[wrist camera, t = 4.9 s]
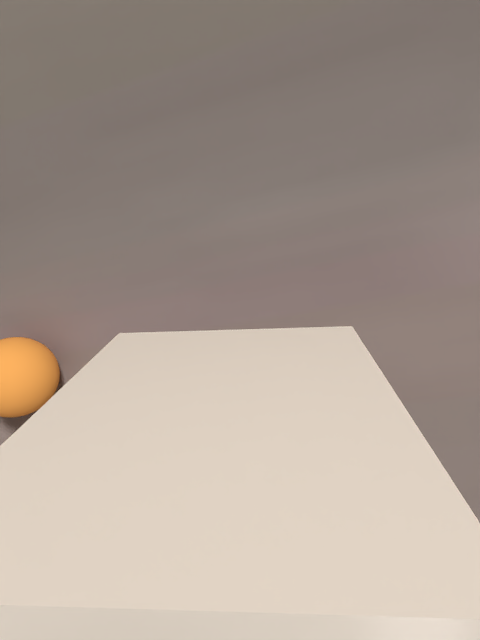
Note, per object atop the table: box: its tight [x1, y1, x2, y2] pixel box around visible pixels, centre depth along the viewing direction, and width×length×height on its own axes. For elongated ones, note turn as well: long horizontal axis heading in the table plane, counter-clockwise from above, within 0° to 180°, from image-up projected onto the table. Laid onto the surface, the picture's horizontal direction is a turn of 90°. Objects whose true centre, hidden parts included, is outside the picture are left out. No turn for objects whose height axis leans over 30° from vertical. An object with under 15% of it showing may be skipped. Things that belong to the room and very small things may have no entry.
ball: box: [0, 337, 60, 417], centre depth 24 cm, size 5×5×5 cm
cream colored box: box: [0, 326, 480, 640], centre depth 8 cm, size 7×7×8 cm
